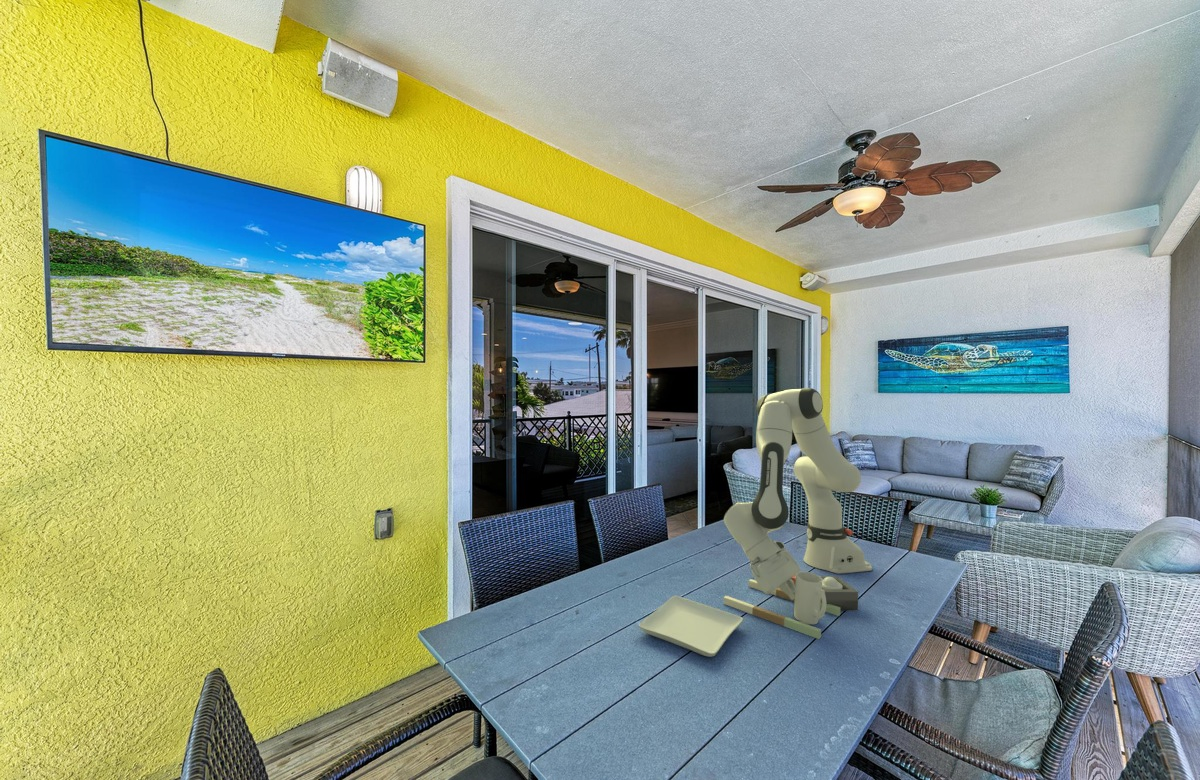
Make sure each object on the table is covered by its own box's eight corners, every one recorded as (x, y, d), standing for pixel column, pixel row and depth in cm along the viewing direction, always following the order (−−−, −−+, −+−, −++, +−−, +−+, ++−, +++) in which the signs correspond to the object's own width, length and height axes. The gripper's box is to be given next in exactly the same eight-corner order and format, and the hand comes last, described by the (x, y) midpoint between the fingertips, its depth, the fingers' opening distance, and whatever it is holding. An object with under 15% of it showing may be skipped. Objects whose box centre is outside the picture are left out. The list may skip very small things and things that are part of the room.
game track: (723, 603, 135) (723, 597, 135) (750, 585, 148) (750, 579, 148) (819, 639, 116) (819, 631, 116) (840, 614, 129) (840, 607, 129)
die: (779, 589, 145) (779, 572, 144) (785, 584, 148) (785, 568, 148) (795, 594, 141) (795, 577, 141) (801, 589, 145) (801, 572, 145)
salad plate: (714, 668, 104) (714, 653, 104) (636, 637, 117) (636, 624, 117) (744, 629, 121) (745, 616, 121) (674, 605, 134) (674, 594, 134)
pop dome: (835, 587, 140) (835, 572, 140) (846, 596, 133) (847, 581, 133) (814, 587, 139) (814, 572, 139) (825, 596, 133) (825, 581, 133)
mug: (787, 613, 128) (790, 572, 128) (807, 610, 130) (810, 570, 129) (813, 633, 119) (816, 589, 118) (834, 631, 120) (837, 587, 120)
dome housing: (837, 593, 142) (838, 576, 142) (857, 610, 131) (858, 591, 131) (804, 594, 141) (804, 576, 141) (822, 610, 131) (822, 591, 131)
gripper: (755, 557, 126) (789, 604, 119) (784, 540, 141) (816, 581, 134) (740, 568, 129) (772, 615, 122) (770, 551, 144) (801, 591, 137)
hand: (796, 597), depth 128 cm, fingers closed, pressing on mug
